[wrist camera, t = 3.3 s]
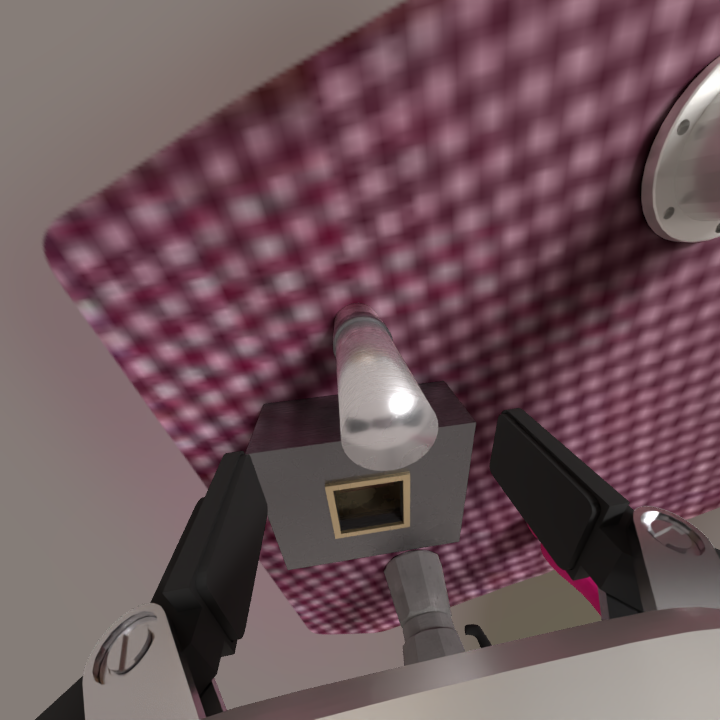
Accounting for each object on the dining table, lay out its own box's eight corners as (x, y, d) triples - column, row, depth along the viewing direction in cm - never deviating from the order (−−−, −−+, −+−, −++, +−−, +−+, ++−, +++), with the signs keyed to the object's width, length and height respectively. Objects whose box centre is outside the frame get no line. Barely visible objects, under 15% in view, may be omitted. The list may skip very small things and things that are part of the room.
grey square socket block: (444, 380, 27) (478, 424, 21) (436, 488, 34) (460, 544, 28) (263, 404, 26) (243, 457, 20) (295, 510, 33) (287, 573, 27)
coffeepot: (368, 586, 43) (393, 802, 26) (373, 551, 39) (406, 781, 22) (459, 577, 44) (533, 773, 28) (472, 543, 40) (569, 750, 24)
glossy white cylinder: (353, 290, 22) (387, 369, 9) (390, 321, 23) (462, 425, 11) (322, 329, 23) (315, 445, 11) (359, 356, 25) (392, 486, 12)
